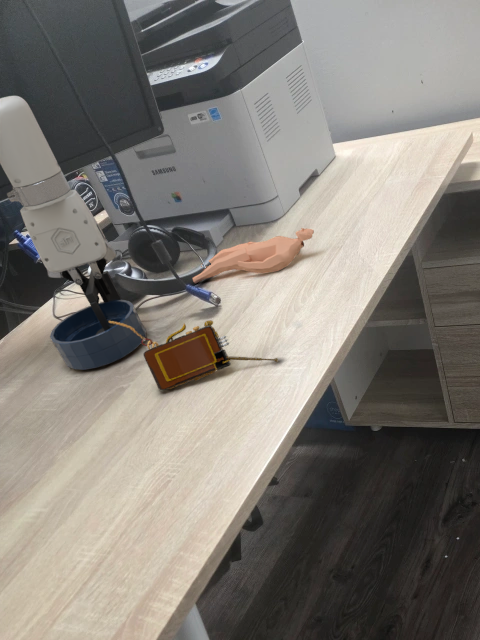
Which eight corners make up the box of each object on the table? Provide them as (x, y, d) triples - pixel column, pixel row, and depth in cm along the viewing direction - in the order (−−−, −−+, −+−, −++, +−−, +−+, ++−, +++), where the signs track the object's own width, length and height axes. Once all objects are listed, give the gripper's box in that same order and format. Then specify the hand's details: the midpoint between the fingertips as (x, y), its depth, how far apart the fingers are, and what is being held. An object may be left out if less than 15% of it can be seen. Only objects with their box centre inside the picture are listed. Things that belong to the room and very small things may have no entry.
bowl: (63, 382, 106) (44, 352, 102) (72, 344, 117) (55, 316, 113) (147, 355, 107) (131, 325, 103) (148, 320, 117) (134, 291, 114)
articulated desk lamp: (125, 342, 109) (100, 295, 104) (100, 350, 109) (74, 303, 104) (129, 305, 122) (107, 260, 116) (106, 312, 121) (83, 268, 116)
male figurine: (198, 249, 129) (315, 214, 123) (210, 272, 133) (324, 239, 126) (183, 272, 122) (306, 236, 115) (195, 296, 125) (316, 263, 118)
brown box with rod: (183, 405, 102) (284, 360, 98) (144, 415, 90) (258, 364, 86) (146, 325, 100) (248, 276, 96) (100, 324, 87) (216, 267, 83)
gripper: (-10, 212, 97) (56, 323, 109) (90, 181, 98) (145, 295, 110) (-1, 199, 103) (61, 306, 115) (94, 170, 103) (146, 279, 115)
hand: (102, 300), depth 112 cm, fingers closed on articulated desk lamp, 1 cm apart
